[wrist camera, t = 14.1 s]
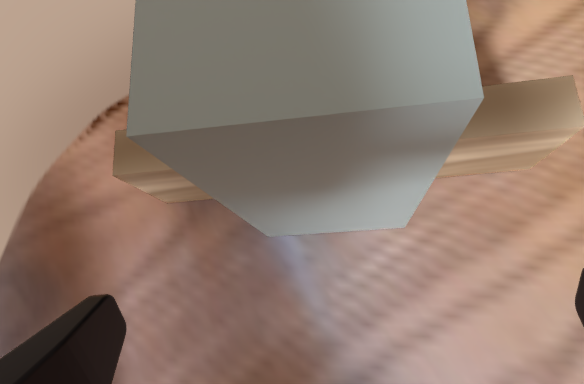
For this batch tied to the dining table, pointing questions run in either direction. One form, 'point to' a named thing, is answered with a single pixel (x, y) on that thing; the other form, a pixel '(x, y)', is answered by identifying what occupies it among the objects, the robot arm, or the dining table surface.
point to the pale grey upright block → (304, 104)
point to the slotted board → (461, 161)
